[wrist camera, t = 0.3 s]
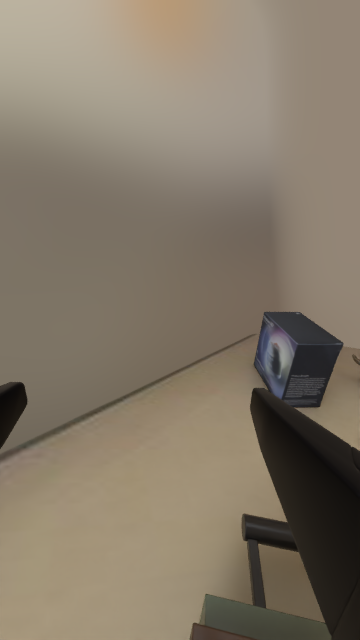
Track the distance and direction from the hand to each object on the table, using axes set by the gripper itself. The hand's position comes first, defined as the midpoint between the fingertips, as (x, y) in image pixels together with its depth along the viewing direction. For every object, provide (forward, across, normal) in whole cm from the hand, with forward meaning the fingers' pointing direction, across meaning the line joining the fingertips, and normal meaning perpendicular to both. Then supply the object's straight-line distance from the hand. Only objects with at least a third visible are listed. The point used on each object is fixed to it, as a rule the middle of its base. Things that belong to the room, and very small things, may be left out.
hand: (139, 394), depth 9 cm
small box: (+24, -19, +15) cm, 34 cm away
